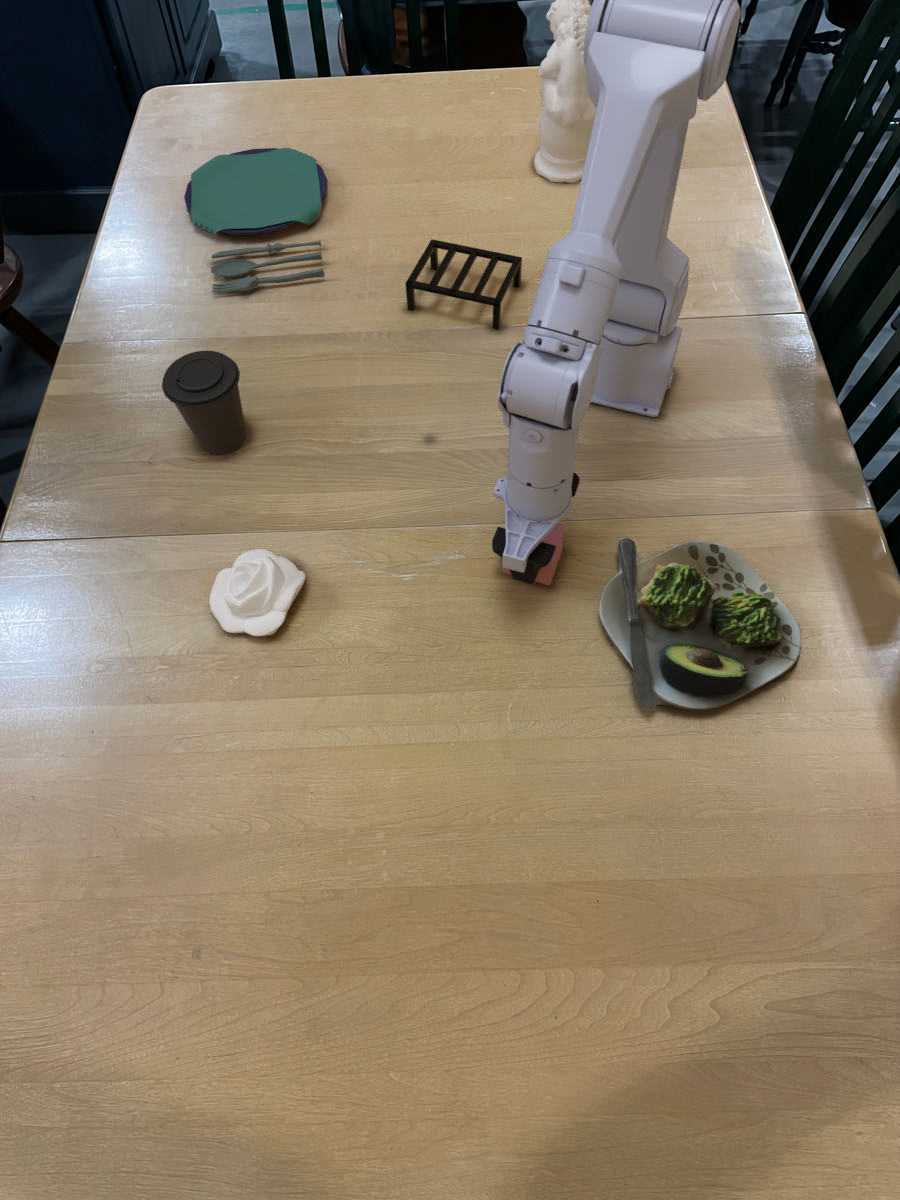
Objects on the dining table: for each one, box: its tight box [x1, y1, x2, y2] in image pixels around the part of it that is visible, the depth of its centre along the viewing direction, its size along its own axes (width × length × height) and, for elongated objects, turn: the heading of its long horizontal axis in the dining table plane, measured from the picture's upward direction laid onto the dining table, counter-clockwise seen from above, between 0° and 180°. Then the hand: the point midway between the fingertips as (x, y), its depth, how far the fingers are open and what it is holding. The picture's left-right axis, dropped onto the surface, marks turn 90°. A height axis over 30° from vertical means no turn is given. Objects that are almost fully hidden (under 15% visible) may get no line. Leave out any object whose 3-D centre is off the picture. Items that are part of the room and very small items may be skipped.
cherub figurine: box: [533, 0, 597, 184], centre depth 112 cm, size 12×12×22 cm
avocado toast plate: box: [598, 538, 802, 713], centre depth 79 cm, size 19×18×5 cm
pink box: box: [501, 522, 567, 587], centre depth 84 cm, size 5×4×4 cm
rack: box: [405, 238, 523, 331], centre depth 105 cm, size 12×9×4 cm
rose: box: [208, 548, 307, 637], centre depth 82 cm, size 10×4×10 cm
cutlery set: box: [183, 147, 328, 294], centre depth 116 cm, size 20×30×2 cm, turn 9°
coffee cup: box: [161, 350, 247, 456], centre depth 92 cm, size 8×8×10 cm
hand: (532, 553), depth 84 cm, fingers open, 6 cm apart
